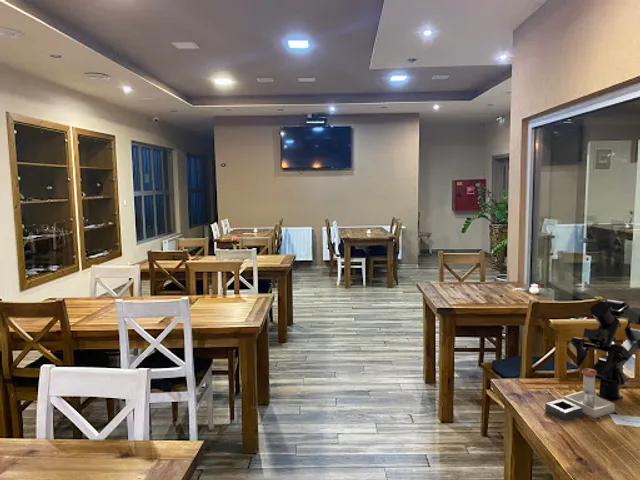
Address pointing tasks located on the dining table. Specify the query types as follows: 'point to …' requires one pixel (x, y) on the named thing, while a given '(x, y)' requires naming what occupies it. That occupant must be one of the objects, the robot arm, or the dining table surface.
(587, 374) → the pin
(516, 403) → the dining table surface
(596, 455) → the dining table surface
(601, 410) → the tray
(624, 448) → the dining table surface
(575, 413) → the dark grey square socket
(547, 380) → the dining table surface
